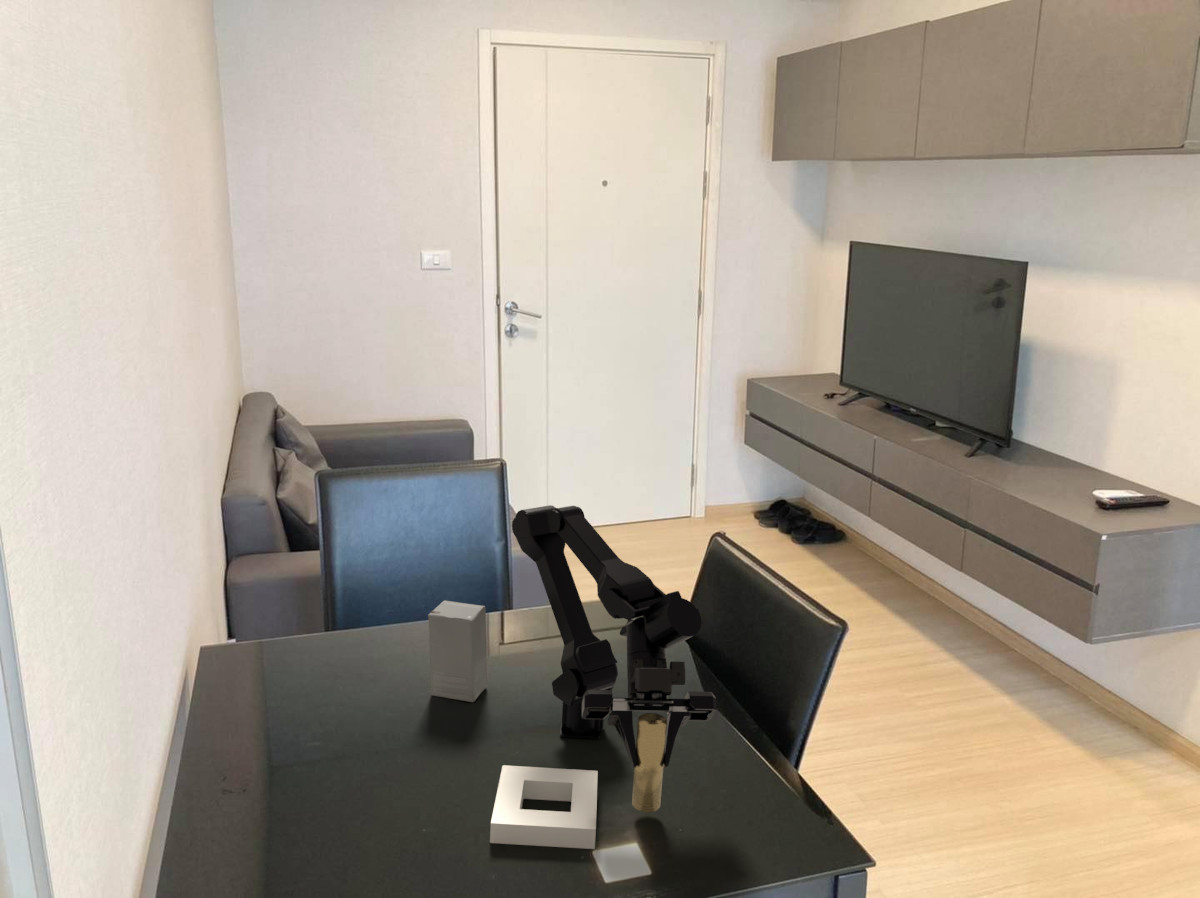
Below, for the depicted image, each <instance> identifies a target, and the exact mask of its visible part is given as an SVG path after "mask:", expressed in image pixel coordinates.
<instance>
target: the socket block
mask: <svg viewBox="0 0 1200 898" xmlns="http://www.w3.org/2000/svg"><path fill="white" fill-rule="evenodd" d="M598 773H599V772H598V770H592V769H591V770H589V769H588V770H587V769H575V768H572V769H571V768H570V769H569V768H568V769H567V768H558V767H557V768H555V767H554V768H553V767H538V766H521V765H520V766H519V765H505V764H504V765H502V766H501V772H500V776H499V780H498V785H497V791H496V795H495V801H494V806H493V810H492V815H491V820H490V829H489V830H490V832H489V833H490V834H489V843H490V844H503V845H515V846H516V845H518V846H519V845H520V846H535V847H553V848H555V847H556V848H569V849H584V850H585V849H587V850H595V848H596V834H597V831H596V830H597V811H598V810H597V809H598V808H597V805H598V804H597V803H598V802H597V801H598V777H599V775H598ZM525 799H526V800H537V801H538V800H540V801H541V800H542V801H557V802H571V805H570V811H558V810H557V811H556V810H545V809H544V810H541V809H540V810H538V809H527V808H526V809H524V808H523V803H524V800H525Z"/></svg>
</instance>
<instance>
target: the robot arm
mask: <svg viewBox="0 0 1200 898" xmlns="http://www.w3.org/2000/svg"><path fill="white" fill-rule="evenodd" d="M511 529H512V533H513V535H514V536H515V540H516V541H517V543H518V545H519V548H520V550H521V552H522V553H524V554H525V555H526V556H528V558H530V560H532V561H533V563H535V565H536V567H537V569H538V572H539V575H540V578H541V582H542V584H543V587H544V590H545V594H546V595H547V598H548V602H549V605H550V608H551V610H552V613H553V616H554V619H555V622H556V625H557V627H558V630H559V633H560V635H561V640H562V642H563V650H562V654H561V659H560V667H561V670H562V673H561V674H560V675H559V676H557V677H556V678H555V679H554V680H553V681H552V682H551V687H552V693H553V695H554V696H555V698H557V699H558V700H560V701H561V703H562V705H561V707H562V708H561V717H560V718H561V721H560V729H559V737H561V738H573V739H575V738H576V739H591V740H600V738H601V731H603V730H604V721H605V720H604V719H605V718H607V716H609V717H608V720H607V726H610V727H612V726H614V727H615V730H616V732H617V734H618V735H619V737H620V739H621V741H622V743H623V746H624V748H625V749H626V750H625V751H626V753H627V756H628V758H629V761H630V763H631V766H632V767H633V769H634V768H636V767H637V754H636V740H635V732H634V724H633V723H634V722H633V719H634V718H633V713H634V712H635V713H667V718H666V720H667V728H666V741H665V753H664V765H663V769H668V768H669V764H670V761H671V756H672V752H673V749H674V744H675V742H676V737H677V734H678V732H679V729H680V728H682V727H685V726H686V725H687V724H688V722H709V721H711V719H712V718H713V717H714V716H715V714H716V713H717V711H718V709H717V706H718V705H717V698H716V695H714V693H713V692H712V691H692V690H691V691H687V693H686V694H685V696H684V698H669V696H671V694H672V692H673V686H684V685H686V666H685V661H670V663H669V667H667V666H668V665H667V664H668V662H667V650H666V649H671V648H674V647H676V646H678V645H679V644H681V643H683V642H685V641H686V640H688V639H690V638H692V637H694V636H695V635H697V634H698V633H699V632H700V630H701V628H702V617H701V613H700V611H699V609H698V608H697V607H696V606H695V605H694V604H693V603H692V602H691V601H690V600H688V599H686V598H683V597H682V596H681V593H680V591H679V590H676V591H672V592H669V593H665V592H664V591H662V589H660V588H659V587H658V586H657V585H655V584H654V582H653V581H652V579H651V578H650V576H648V575H647V574H646V573H644V572H643V571H642V569H640V568H639V567H637V566H636V565H633V564H630V563H627V562H624V560H622V559H620V558H619V556H618V555H617V554H616V553H615V552H614V551H613V549H612V548H611V547H610V546H609V544H608V543H607V542H606V541H605V540H604V538H603V537H602V536H601V535H600V534H599V532H598V531H597V530H596V529H595V528H594V527H593V526H592V524H591V523H590V522H589V521H588V520H587V518H586V517H585V513H584V511H583V509H582V508H581V507H579V506H576V505H569V506H563V507H555V506H554V505H549V504H548V505H544V506H539V507H532V508H531V507H530V508H525V509H520V510H518V511H517V513H516V514H515V517H514V518H513V520H512V522H511ZM566 546H568V548H569V549H570V550H571V552H572V553H573V554H574V556H575V557H577V559H578V561H579V562H580V563H581V564H582V565H583V567H584V568H585V569H586V571H588V573H589V574H590V575H591V577H592V578H593V579H594V581H595V583H596V588H597V597H598V599H599V600H600V602H601V604H602V605H603V607H604V609H605V611H606V612H607V613H608V615H609V616H611V617H612V618H613V619H615V620H616V619H617V620H619V619H625V620H627V622H626V623H625V624H624V625H623V626H622V627H621V629H620V631H619V635H620V636H622V637H626V659H627V661H626V662H627V663H626V664H627V665H626V666H627V667H626V669H627V697H613V690H614V686H615V685H616V681H617V678H618V676H619V669H618V668H619V667H618V665H617V664H618V661H617V658H616V657H615V655H614V654H613V649H612V646H611V643H610V641H609V640H608V639H602V640H600V638H598V637H597V636H596V635H595V634H594V632H593V630H592V628H591V627H592V626H591V625H590V622H589V618H588V616H587V613H586V611H585V608H584V605H583V603H582V599H581V596H580V594H579V591H578V589H577V585H576V583H575V580H574V577H573V574H572V571H571V569H570V566H569V563H568V561H567V557H566V554H565V547H566Z"/></svg>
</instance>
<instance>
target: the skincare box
mask: <svg viewBox="0 0 1200 898" xmlns="http://www.w3.org/2000/svg"><path fill="white" fill-rule="evenodd" d="M486 614H487V613H486V606H485V605H481V604H480V605H478V604H473V603H472V604H471V603H464V602H457V601H452V600H451V601H450V600H443V601H442V602H441V603H440V604H439V605H437V606H436V607H435V608H434V609H433V610H432V611H430V612H429V613H428V614H427V617H428V637H429V640H428V641H429V643H428V644H429V662H430V663H429V664H430V665H429V666H430V669H429V670H430V693H431V694H430V695H431V696H433V697H438V698H439V697H440V698H445V699H452V700H456V701H457V700H458V701H462V702H463V701H465V702H470V703H474V702H475V701H476V700H477V698H479V697H480V695H481V694H482V693H483V692H484V690H485V689H486V688H487V686H488V659H487V657H488V655H487V621H486V616H487V615H486Z"/></svg>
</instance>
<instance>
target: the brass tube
mask: <svg viewBox="0 0 1200 898" xmlns="http://www.w3.org/2000/svg"><path fill="white" fill-rule="evenodd" d="M636 728H637V729H636V740H635V746H636V754H637V767H636V768H633V769H634V770H633V782H632V783H633V784H632V797H631V805H632V807H633V808H634V809H635V810H637V811H639V812H642V813H653V812H656V811H658V810H659V809H660V808H661V799H662V787H663V775H664V753H665V741H666V728H667V718H666V717H665V716H663V715H662V714H658V713H656V712H645V713H642V714H641V715H639V717H638V718H637V727H636Z"/></svg>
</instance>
